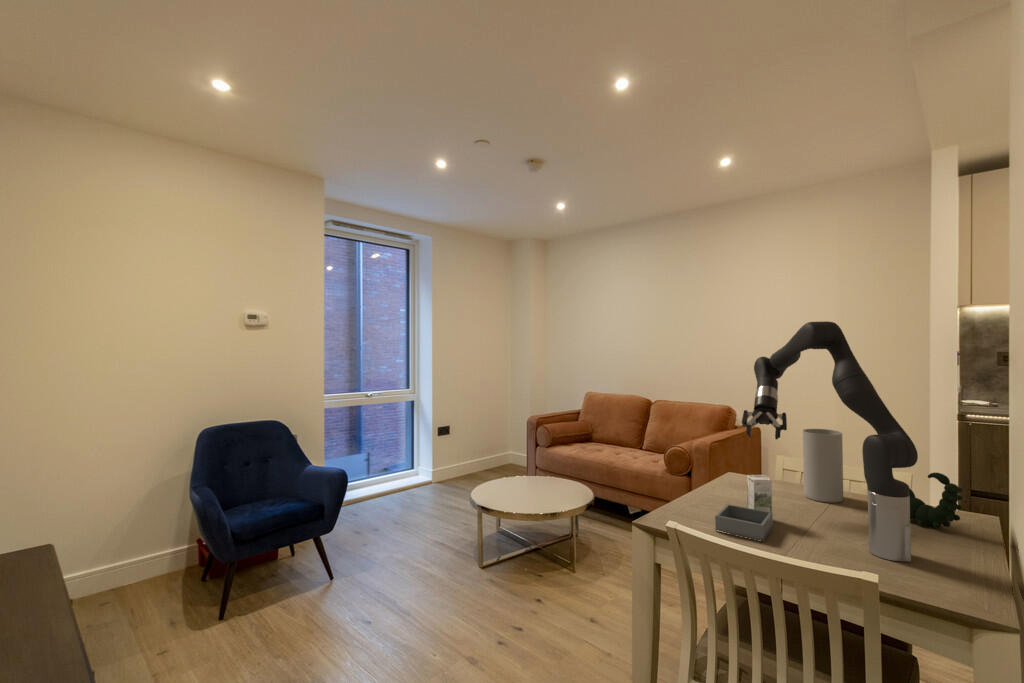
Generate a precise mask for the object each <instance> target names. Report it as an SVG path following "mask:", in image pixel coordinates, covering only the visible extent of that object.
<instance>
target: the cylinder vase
mask: <svg viewBox="0 0 1024 683" xmlns="http://www.w3.org/2000/svg"><path fill="white" fill-rule="evenodd" d="M843 448H844V447H843V432H842V431H840V430H839V431H838V430H834V429H833V430H832V429H827V428H806V429H805V428H804V429H802V454H803V455H802V458H803V459H802V461H803V464H802V466H803V472H802V473H803V495H804V496H805V497H806V498H807V499H809V498H810V499H809V500H813V501H815V500H816V502H820V503H821V502H822V503H830V504H833V503H834V504H835V503H841V502H842V501H844V463H843V462H844V459H843V457H844V455H843V454H844V453H843Z"/></svg>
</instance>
